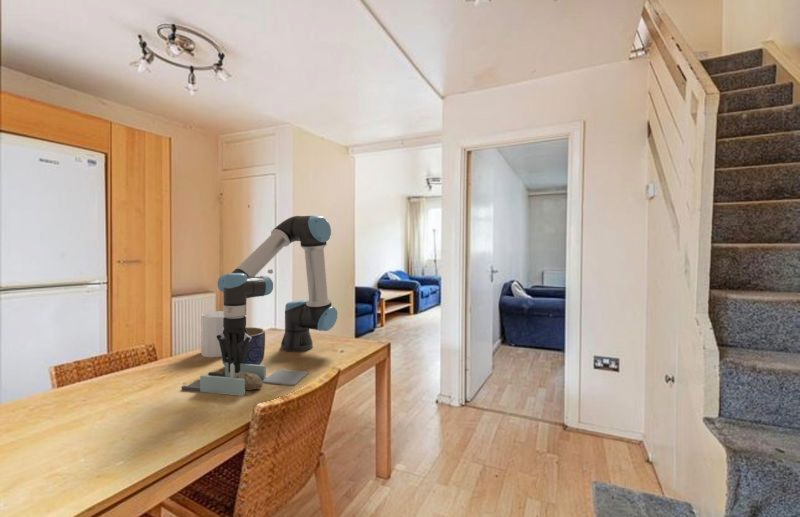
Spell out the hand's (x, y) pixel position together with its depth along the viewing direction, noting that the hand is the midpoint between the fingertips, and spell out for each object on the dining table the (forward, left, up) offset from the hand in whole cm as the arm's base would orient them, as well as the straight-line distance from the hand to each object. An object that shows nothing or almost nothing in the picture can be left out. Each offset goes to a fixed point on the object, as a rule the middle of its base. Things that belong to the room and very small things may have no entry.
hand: (234, 381), depth 134 cm
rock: (0, +6, -2) cm, 6 cm away
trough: (0, -3, -2) cm, 4 cm away
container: (-34, -29, -2) cm, 45 cm away
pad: (-11, +15, -2) cm, 18 cm away
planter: (-18, -7, -2) cm, 20 cm away
